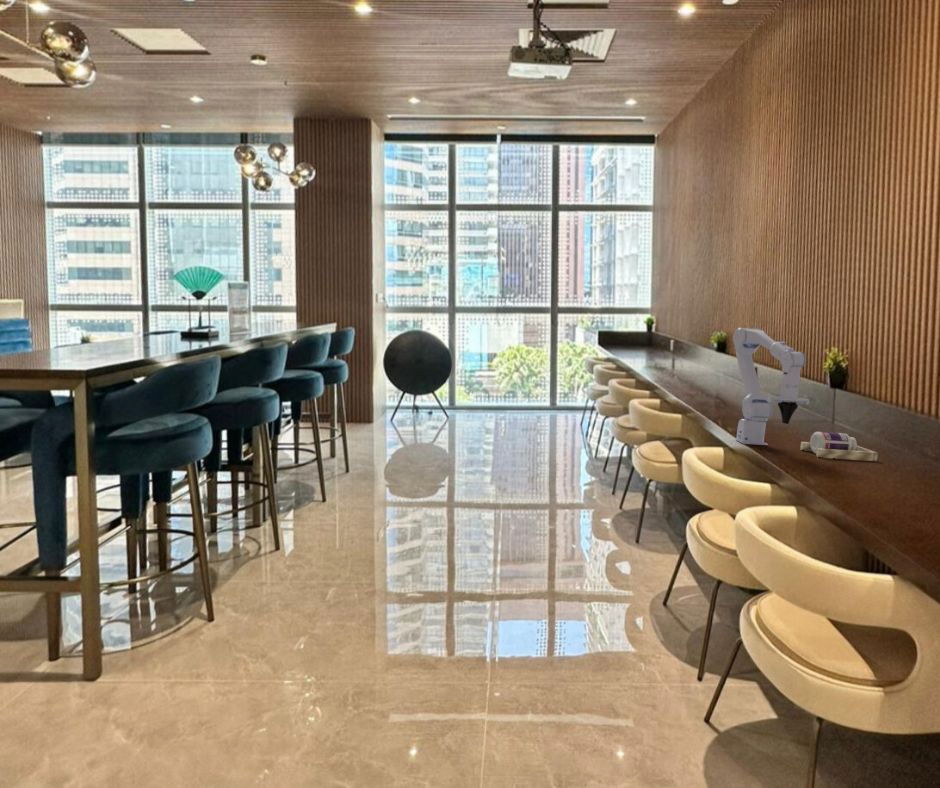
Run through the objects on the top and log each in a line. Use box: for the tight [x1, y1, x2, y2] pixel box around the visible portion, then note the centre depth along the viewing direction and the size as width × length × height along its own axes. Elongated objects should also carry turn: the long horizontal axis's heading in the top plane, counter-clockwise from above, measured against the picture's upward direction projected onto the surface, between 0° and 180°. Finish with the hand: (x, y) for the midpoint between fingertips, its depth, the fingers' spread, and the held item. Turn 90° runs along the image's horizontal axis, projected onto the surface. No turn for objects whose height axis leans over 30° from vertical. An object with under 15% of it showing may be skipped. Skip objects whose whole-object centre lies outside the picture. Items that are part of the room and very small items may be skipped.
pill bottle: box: [809, 431, 858, 454], centre depth 283 cm, size 8×8×14 cm
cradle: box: [799, 441, 879, 462], centre depth 282 cm, size 22×13×3 cm, turn 94°
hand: (785, 423), depth 280 cm, fingers closed
